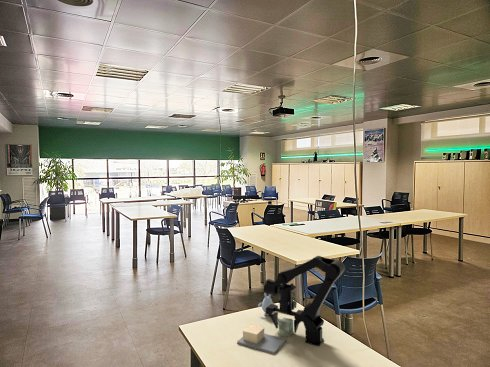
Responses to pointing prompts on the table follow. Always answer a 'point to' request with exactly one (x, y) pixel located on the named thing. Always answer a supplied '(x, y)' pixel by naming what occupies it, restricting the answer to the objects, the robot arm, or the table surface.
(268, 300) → the toy figure
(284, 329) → the sage block
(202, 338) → the table surface
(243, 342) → the build plate
